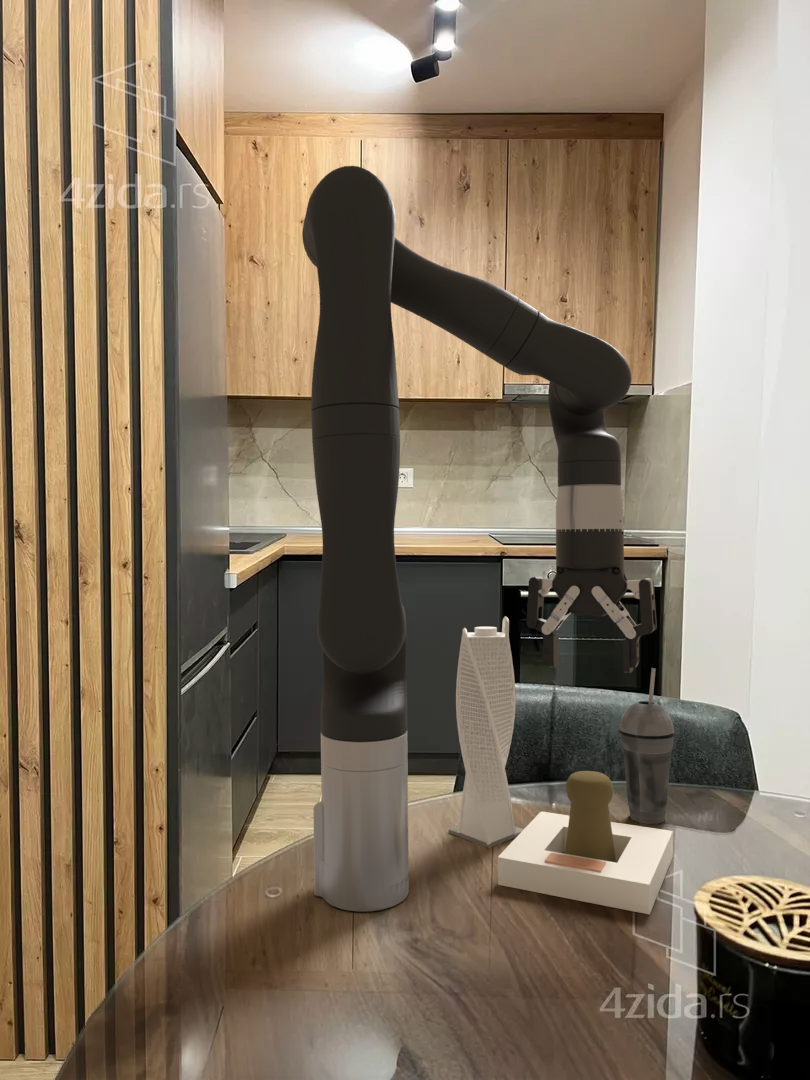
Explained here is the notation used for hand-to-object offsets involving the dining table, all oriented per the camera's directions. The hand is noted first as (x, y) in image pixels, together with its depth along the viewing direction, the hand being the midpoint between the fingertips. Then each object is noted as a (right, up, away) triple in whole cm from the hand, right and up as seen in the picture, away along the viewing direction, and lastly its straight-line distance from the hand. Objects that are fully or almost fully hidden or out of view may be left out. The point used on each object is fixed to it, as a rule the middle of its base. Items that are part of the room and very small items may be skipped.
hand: (590, 669), depth 90 cm
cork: (0, -23, 0) cm, 23 cm away
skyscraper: (-11, -23, +10) cm, 27 cm away
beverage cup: (+11, -23, +16) cm, 30 cm away
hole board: (0, -23, 0) cm, 23 cm away
